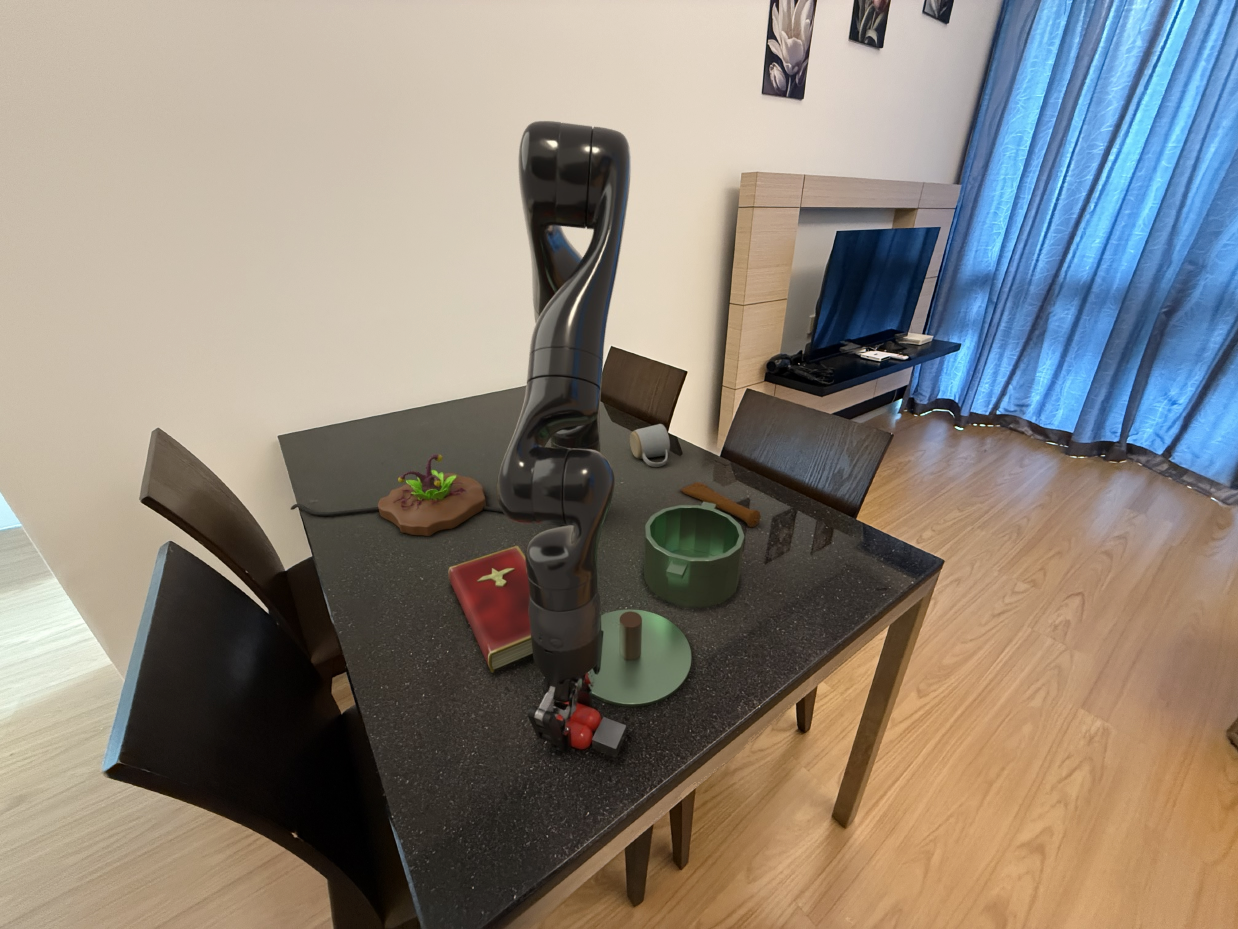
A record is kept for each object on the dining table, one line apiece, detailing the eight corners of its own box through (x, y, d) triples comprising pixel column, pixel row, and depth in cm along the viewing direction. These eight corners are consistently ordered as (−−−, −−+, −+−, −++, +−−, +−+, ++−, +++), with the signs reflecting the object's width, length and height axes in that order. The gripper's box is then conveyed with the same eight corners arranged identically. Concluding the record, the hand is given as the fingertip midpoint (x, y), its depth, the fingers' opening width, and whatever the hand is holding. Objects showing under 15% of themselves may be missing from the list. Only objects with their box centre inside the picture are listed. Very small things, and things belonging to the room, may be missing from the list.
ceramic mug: (627, 452, 132) (628, 423, 128) (657, 446, 134) (658, 419, 131) (644, 471, 123) (645, 441, 119) (675, 465, 125) (677, 436, 122)
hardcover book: (490, 676, 71) (487, 653, 69) (450, 586, 87) (446, 566, 85) (571, 642, 76) (570, 620, 74) (519, 563, 92) (517, 544, 90)
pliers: (537, 737, 63) (535, 723, 62) (557, 704, 67) (556, 690, 66) (612, 768, 59) (612, 753, 58) (629, 731, 64) (629, 716, 62)
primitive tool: (679, 491, 114) (680, 477, 113) (697, 484, 117) (698, 470, 116) (749, 531, 101) (751, 516, 99) (767, 521, 104) (770, 506, 102)
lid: (547, 685, 70) (544, 645, 66) (600, 603, 83) (599, 567, 80) (669, 729, 64) (671, 687, 60) (704, 633, 77) (708, 595, 74)
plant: (504, 505, 110) (498, 456, 105) (417, 546, 97) (405, 493, 92) (452, 474, 122) (445, 429, 117) (369, 507, 109) (356, 459, 104)
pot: (624, 605, 83) (624, 556, 79) (665, 534, 100) (667, 490, 96) (722, 633, 78) (728, 582, 73) (748, 553, 95) (754, 508, 90)
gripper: (565, 572, 63) (572, 673, 71) (496, 660, 51) (513, 769, 59) (624, 588, 60) (624, 691, 68) (565, 684, 48) (573, 795, 56)
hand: (572, 727), depth 63 cm, fingers closed on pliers, 5 cm apart
